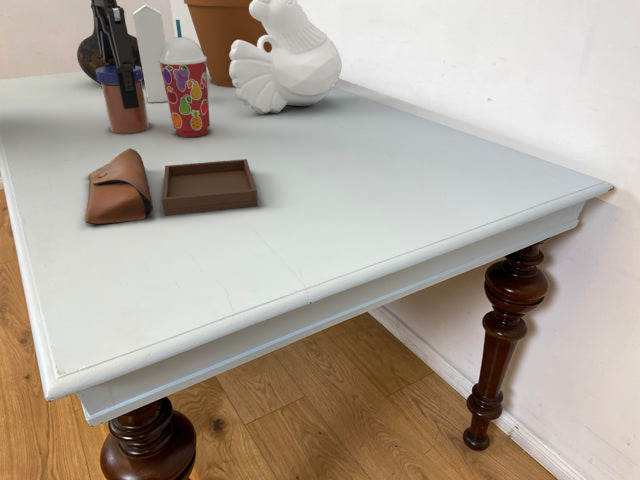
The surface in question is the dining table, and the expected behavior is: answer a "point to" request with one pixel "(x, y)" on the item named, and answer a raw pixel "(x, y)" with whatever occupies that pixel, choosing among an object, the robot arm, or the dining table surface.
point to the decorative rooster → (284, 60)
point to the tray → (208, 187)
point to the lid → (115, 74)
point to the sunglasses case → (119, 191)
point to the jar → (125, 110)
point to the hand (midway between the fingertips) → (125, 102)
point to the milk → (151, 50)
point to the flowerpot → (223, 32)
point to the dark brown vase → (91, 54)
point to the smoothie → (186, 85)
